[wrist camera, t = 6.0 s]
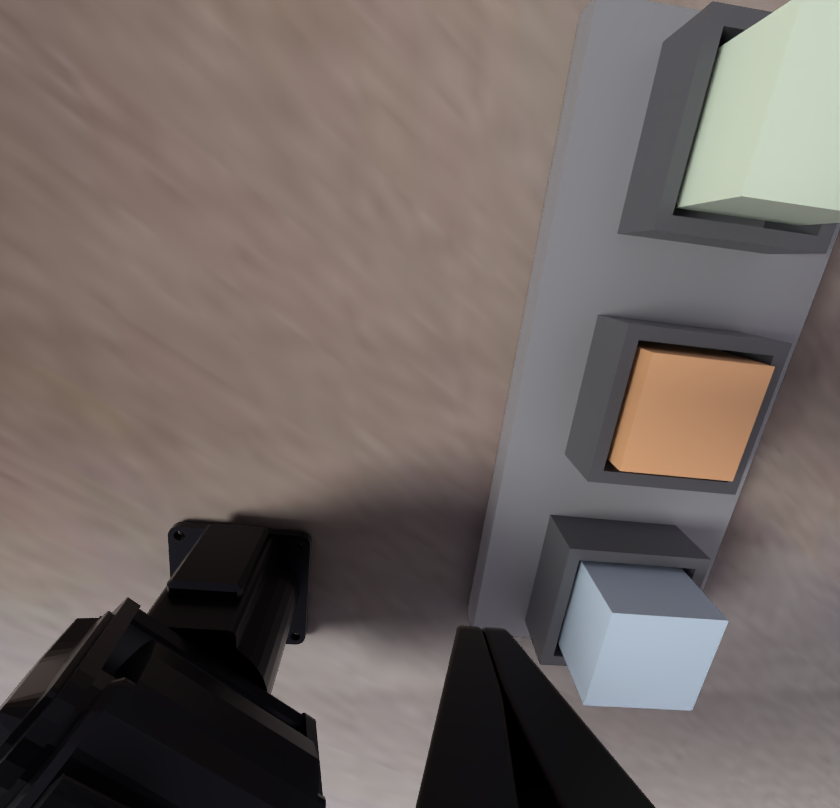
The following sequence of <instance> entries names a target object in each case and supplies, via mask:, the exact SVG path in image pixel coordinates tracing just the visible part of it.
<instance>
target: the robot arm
mask: <svg viewBox="0 0 840 808" xmlns="http://www.w3.org/2000/svg"><path fill="white" fill-rule="evenodd" d="M178 531H180V532H182V533H184V535H185V536H183V535H180V534H179V533H178ZM298 540H300V541H303V542H304V543H305V544H298V543H297V542H296V541H298ZM168 544H169V561H170V579H169V581H168V582H167V586H166V587H165V589H164V590H163V592H162V593H161V595H160V596H159V597H158V599H157V600H156V602H155V603H154V605H153V606H152V607H151V609H150V610H149V612H148V613H147V614H146V613H145V612H143V611H142V610H140V609H139V608H140V605H139V604H137V603H136V602H134V601H133V600H131V599H130V598H128V597H127V598H126V599H125V600H124V601H123V602H122V603H121V604H120V605H119V606H118V607H117V608H116V609H115V610H114V611H113V612H112V613H111V612H110V611H108V612H107V613H106V614H104V615H103V616H100V617H99V618H77V619H76V620H75V621H74V622H73V623H72V624H71V625H70V626H69V627H68V628H67V629H66V630H65V632H64V633H63V634H62V635H61V636H60V637H59V638H58V639H57V641H56V642H55V643H54V644H53V645H52V646H51V647H50V648H49V650H48V651H47V652H46V653H45V654H44V655H43V656H42V657H41V659H40V660H39V661H38V662H37V663H36V664H35V665H34V667H33V668H32V669H31V670H30V671H29V672H28V674H27V675H26V676H25V677H24V678H23V679H22V681H21V682H20V683H19V684H18V685H17V687H16V688H15V689H14V690H13V692H12V693H11V694H10V695H9V697H8V698H7V699H6V700H5V702H4V703H3V704H2V705H1V707H0V808H326V800H325V797H324V796H323V793H322V783H321V772H320V762H319V751H318V741H317V730H316V721H315V719H314V718H312V717H310V716H309V715H307V714H306V713H302V714H300V713H299V712H297V711H296V710H294V709H293V708H291V707H289V706H288V705H286V704H285V703H283V702H282V701H280V700H279V699H277V698H276V697H274V696H273V695H271V692H272V688H273V685H274V682H275V678H276V675H277V671H278V668H279V664H280V661H281V658H282V654H283V651H284V647H285V644H300V643H302V642H303V641H304V639H305V636H306V632H307V616H308V598H309V580H310V562H311V544H312V540H311V536H310V535H309V534H308V533H306V532H304V531H295V530H282V529H269V528H265V527H258V526H245V525H232V524H219V523H212V524H204V523H191V522H178V523H176V524H175V525H174V526H173V527H172V528H171V529H170V531H169V533H168ZM294 633H298V634H294ZM416 808H655V806H654V805H653V804H652V803H651V802H650V800H649V799H648V798H647V797H646V796H645V794H644V793H643V792H642V791H641V790H640V789H639V787H638V786H637V785H636V784H635V783H634V781H633V780H632V779H631V778H630V777H629V775H628V774H627V773H626V772H625V771H624V769H623V768H622V767H621V766H620V765H619V763H618V762H617V761H616V760H615V759H614V757H613V756H612V755H611V754H610V753H609V751H608V750H607V749H606V748H605V747H604V745H603V744H602V743H601V742H600V741H599V740H598V738H597V737H596V736H595V735H594V734H593V732H592V731H591V730H590V729H589V728H588V726H587V725H586V724H585V723H584V722H583V720H582V719H581V718H580V717H579V716H578V714H577V713H576V712H575V711H574V710H573V708H572V707H571V706H570V705H569V704H568V702H567V701H566V700H565V699H564V698H563V696H562V695H561V694H560V693H559V692H558V691H557V689H556V688H555V687H554V686H553V685H552V683H551V682H550V681H549V680H548V679H547V677H546V676H545V675H544V674H543V673H542V671H541V670H540V669H539V668H538V667H537V665H536V664H535V663H534V662H533V661H532V659H531V658H530V657H529V656H528V655H527V653H526V652H525V651H524V650H523V649H522V647H521V646H520V645H519V644H518V643H517V642H516V640H515V639H514V638H513V637H512V636H511V634H510V633H509V632H508V631H507V630H506V629H504V628H494V627H484V628H482V629H481V628H479V627H477V626H459V627H458V628H457V631H456V635H455V640H454V644H453V648H452V653H451V657H450V661H449V665H448V670H447V674H446V678H445V683H444V687H443V691H442V696H441V700H440V704H439V709H438V713H437V717H436V722H435V726H434V730H433V735H432V739H431V743H430V748H429V752H428V756H427V761H426V765H425V769H424V774H423V778H422V782H421V787H420V791H419V795H418V800H417V804H416Z"/></svg>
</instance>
